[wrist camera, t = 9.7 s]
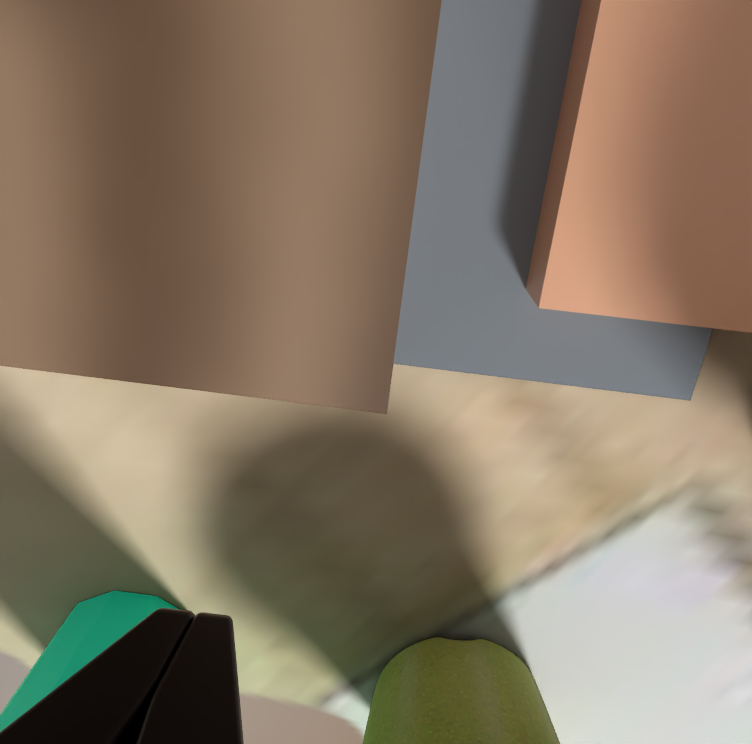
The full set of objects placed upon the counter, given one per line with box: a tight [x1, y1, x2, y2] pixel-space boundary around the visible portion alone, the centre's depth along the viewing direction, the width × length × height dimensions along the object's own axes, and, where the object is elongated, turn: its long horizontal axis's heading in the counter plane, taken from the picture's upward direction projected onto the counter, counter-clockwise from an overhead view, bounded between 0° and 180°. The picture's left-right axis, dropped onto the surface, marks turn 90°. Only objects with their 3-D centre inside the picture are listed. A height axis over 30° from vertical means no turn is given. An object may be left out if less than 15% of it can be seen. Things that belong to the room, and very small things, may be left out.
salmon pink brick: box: [526, 0, 752, 333], centre depth 16 cm, size 6×9×2 cm, turn 174°
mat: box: [393, 0, 713, 400], centre depth 17 cm, size 9×14×1 cm, turn 174°
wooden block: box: [0, 0, 442, 414], centre depth 16 cm, size 12×14×4 cm
